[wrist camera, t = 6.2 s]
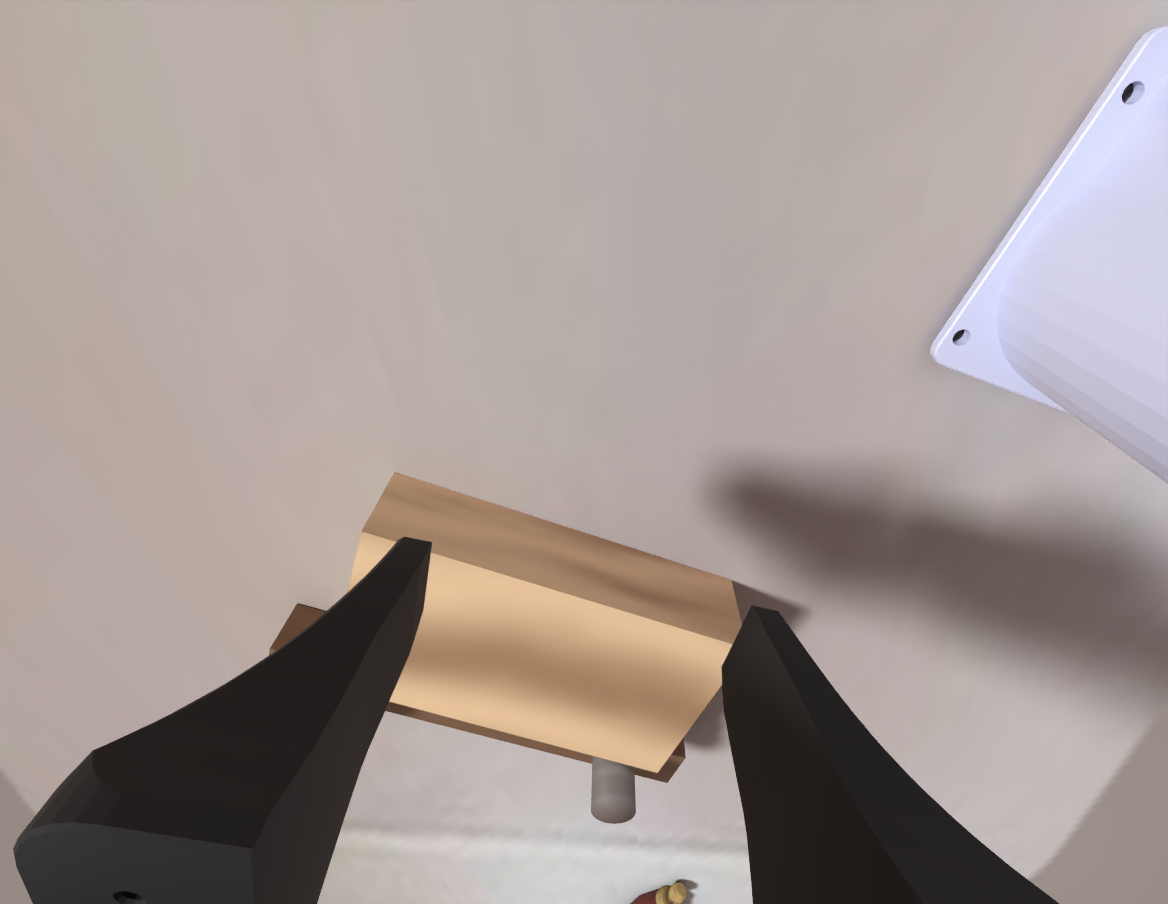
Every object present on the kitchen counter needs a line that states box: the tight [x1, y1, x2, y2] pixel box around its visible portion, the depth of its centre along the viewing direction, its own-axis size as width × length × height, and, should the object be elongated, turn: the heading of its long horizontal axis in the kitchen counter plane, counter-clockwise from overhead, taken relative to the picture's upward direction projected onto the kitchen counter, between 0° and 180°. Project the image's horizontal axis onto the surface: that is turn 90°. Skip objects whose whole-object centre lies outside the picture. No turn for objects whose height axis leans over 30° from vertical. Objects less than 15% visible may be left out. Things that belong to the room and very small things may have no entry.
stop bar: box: [269, 604, 686, 824], centre depth 27 cm, size 2×18×5 cm, turn 70°
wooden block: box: [347, 472, 742, 773], centre depth 25 cm, size 8×14×4 cm, turn 70°
